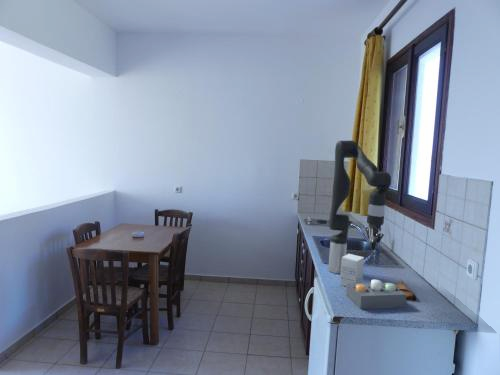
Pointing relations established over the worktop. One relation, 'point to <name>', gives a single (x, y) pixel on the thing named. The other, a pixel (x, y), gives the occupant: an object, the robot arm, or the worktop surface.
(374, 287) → the white egg-shaped piece
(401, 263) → the worktop surface
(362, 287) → the beige rounded piece
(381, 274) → the worktop surface
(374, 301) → the grey holder tray
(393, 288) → the mint green oval piece
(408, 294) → the sunglasses case
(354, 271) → the supplement box
